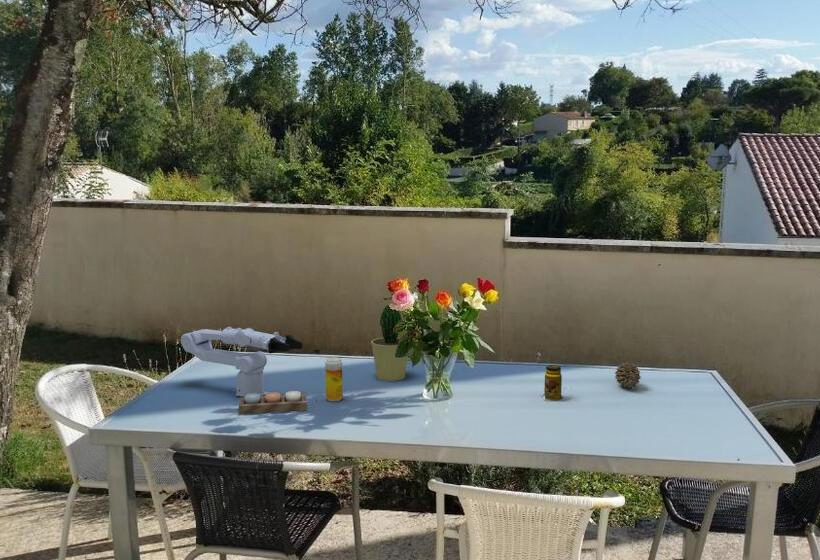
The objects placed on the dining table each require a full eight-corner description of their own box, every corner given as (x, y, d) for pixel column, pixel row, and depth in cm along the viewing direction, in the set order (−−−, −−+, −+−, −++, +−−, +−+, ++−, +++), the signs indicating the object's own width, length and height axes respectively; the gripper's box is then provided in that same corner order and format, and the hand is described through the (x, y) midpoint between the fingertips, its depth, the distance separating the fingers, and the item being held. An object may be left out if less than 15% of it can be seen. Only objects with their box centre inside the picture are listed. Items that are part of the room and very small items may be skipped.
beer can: (340, 402, 272) (339, 361, 270) (323, 401, 274) (323, 360, 271) (344, 397, 278) (344, 357, 276) (328, 396, 279) (328, 356, 277)
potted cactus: (363, 377, 304) (362, 304, 300) (389, 370, 316) (388, 299, 311) (392, 384, 294) (391, 308, 290) (417, 376, 306) (417, 303, 301)
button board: (239, 414, 259) (238, 406, 259) (240, 405, 269) (239, 397, 268) (307, 410, 263) (306, 402, 263) (305, 402, 273) (305, 394, 272)
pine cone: (644, 393, 282) (645, 367, 280) (617, 392, 283) (618, 367, 281) (632, 377, 304) (633, 353, 302) (608, 376, 305) (608, 352, 303)
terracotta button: (265, 404, 263) (265, 396, 262) (265, 400, 268) (265, 392, 267) (280, 403, 263) (280, 396, 263) (280, 399, 268) (280, 391, 268)
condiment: (545, 401, 273) (546, 368, 271) (540, 394, 281) (541, 362, 280) (565, 401, 273) (566, 368, 272) (559, 394, 282) (560, 362, 280)
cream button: (285, 403, 264) (285, 395, 263) (285, 399, 269) (285, 391, 268) (301, 402, 265) (300, 394, 264) (300, 398, 270) (300, 390, 269)
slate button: (244, 405, 261) (244, 398, 261) (245, 401, 266) (245, 393, 266) (260, 404, 262) (259, 397, 262) (260, 400, 267) (260, 392, 267)
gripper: (253, 332, 269) (283, 338, 263) (278, 328, 282) (308, 334, 276) (251, 351, 270) (282, 358, 263) (276, 347, 282) (306, 353, 276)
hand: (295, 347), depth 270 cm, fingers open, 7 cm apart
